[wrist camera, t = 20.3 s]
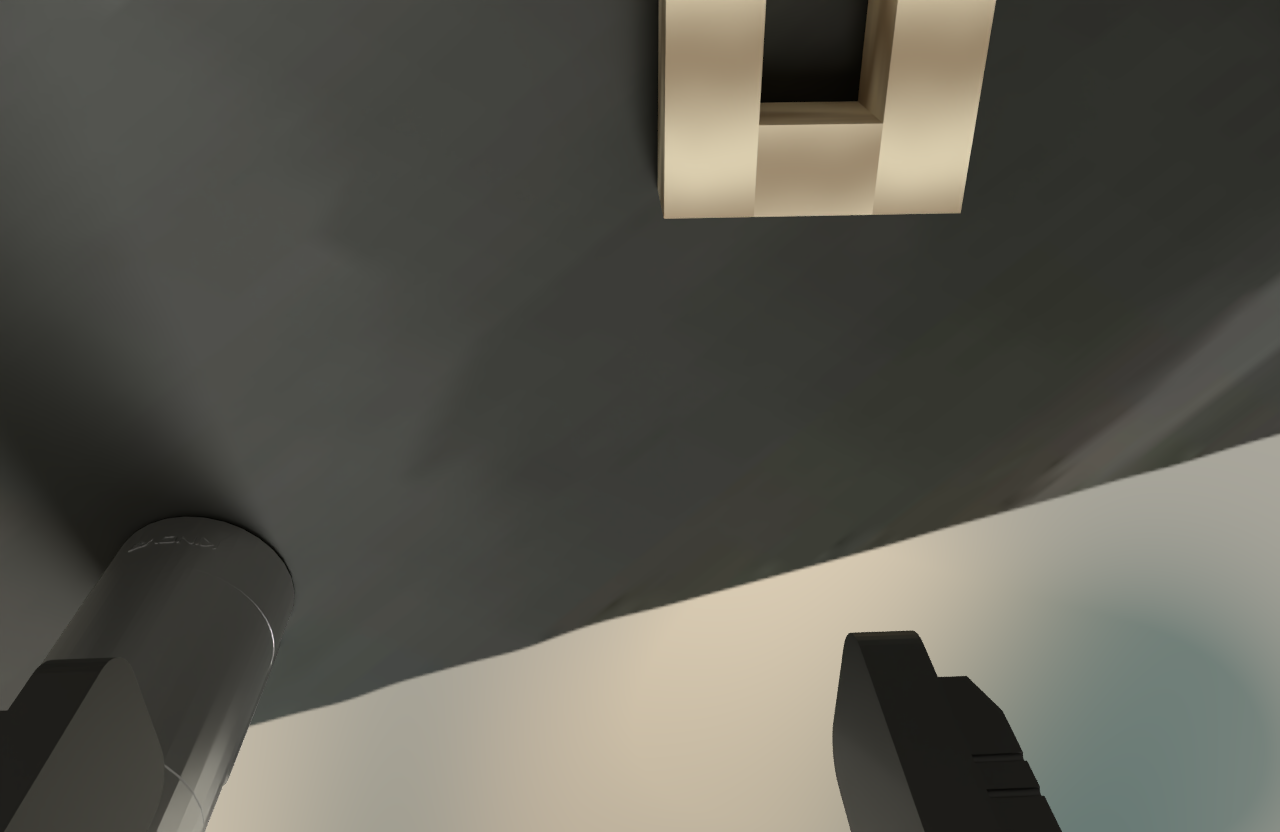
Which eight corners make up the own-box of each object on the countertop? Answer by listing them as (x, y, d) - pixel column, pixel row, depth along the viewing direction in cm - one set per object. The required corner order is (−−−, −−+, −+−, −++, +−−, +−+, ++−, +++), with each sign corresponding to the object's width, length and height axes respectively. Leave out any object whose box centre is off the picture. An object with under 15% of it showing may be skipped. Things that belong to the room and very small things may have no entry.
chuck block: (929, 184, 42) (960, 212, 39) (657, 189, 42) (664, 218, 38) (976, -130, 36) (1017, -129, 33) (659, -128, 36) (667, -127, 32)
